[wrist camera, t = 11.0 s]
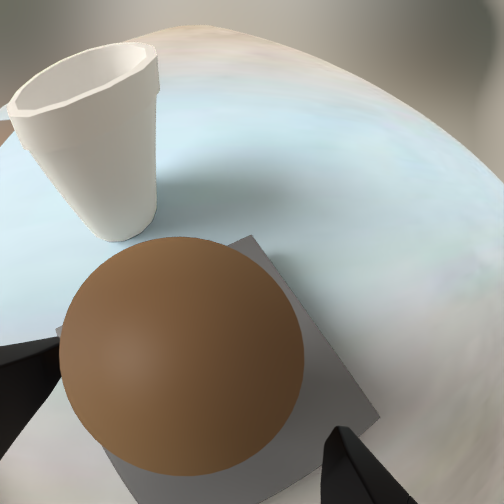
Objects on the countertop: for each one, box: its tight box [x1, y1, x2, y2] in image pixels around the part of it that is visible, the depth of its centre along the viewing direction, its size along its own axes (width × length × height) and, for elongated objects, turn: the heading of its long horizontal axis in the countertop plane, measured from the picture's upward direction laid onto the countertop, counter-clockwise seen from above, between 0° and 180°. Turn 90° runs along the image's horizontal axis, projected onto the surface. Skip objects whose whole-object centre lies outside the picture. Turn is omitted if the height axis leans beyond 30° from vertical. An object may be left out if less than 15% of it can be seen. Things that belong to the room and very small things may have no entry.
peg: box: [59, 237, 304, 476], centre depth 10 cm, size 4×4×14 cm
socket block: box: [56, 235, 380, 504], centre depth 15 cm, size 14×14×3 cm
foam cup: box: [7, 42, 160, 242], centre depth 17 cm, size 10×9×13 cm
